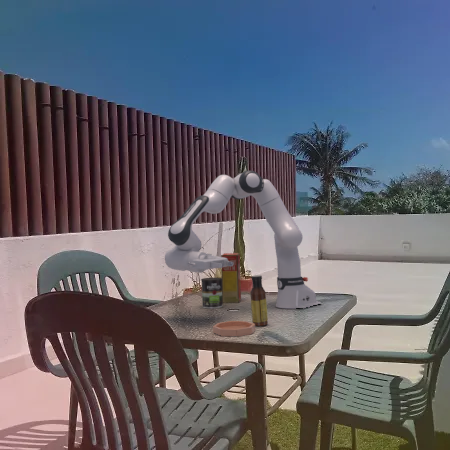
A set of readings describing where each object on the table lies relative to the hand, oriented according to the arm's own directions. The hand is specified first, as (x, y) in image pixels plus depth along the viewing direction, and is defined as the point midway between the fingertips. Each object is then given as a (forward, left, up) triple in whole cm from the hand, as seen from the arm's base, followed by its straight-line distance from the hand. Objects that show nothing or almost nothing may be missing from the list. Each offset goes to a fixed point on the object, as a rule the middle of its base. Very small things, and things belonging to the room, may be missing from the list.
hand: (227, 264), depth 200 cm
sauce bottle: (-8, +11, -24) cm, 28 cm away
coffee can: (-12, -39, -24) cm, 47 cm away
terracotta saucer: (+6, +15, -24) cm, 29 cm away
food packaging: (-28, -48, -24) cm, 60 cm away
